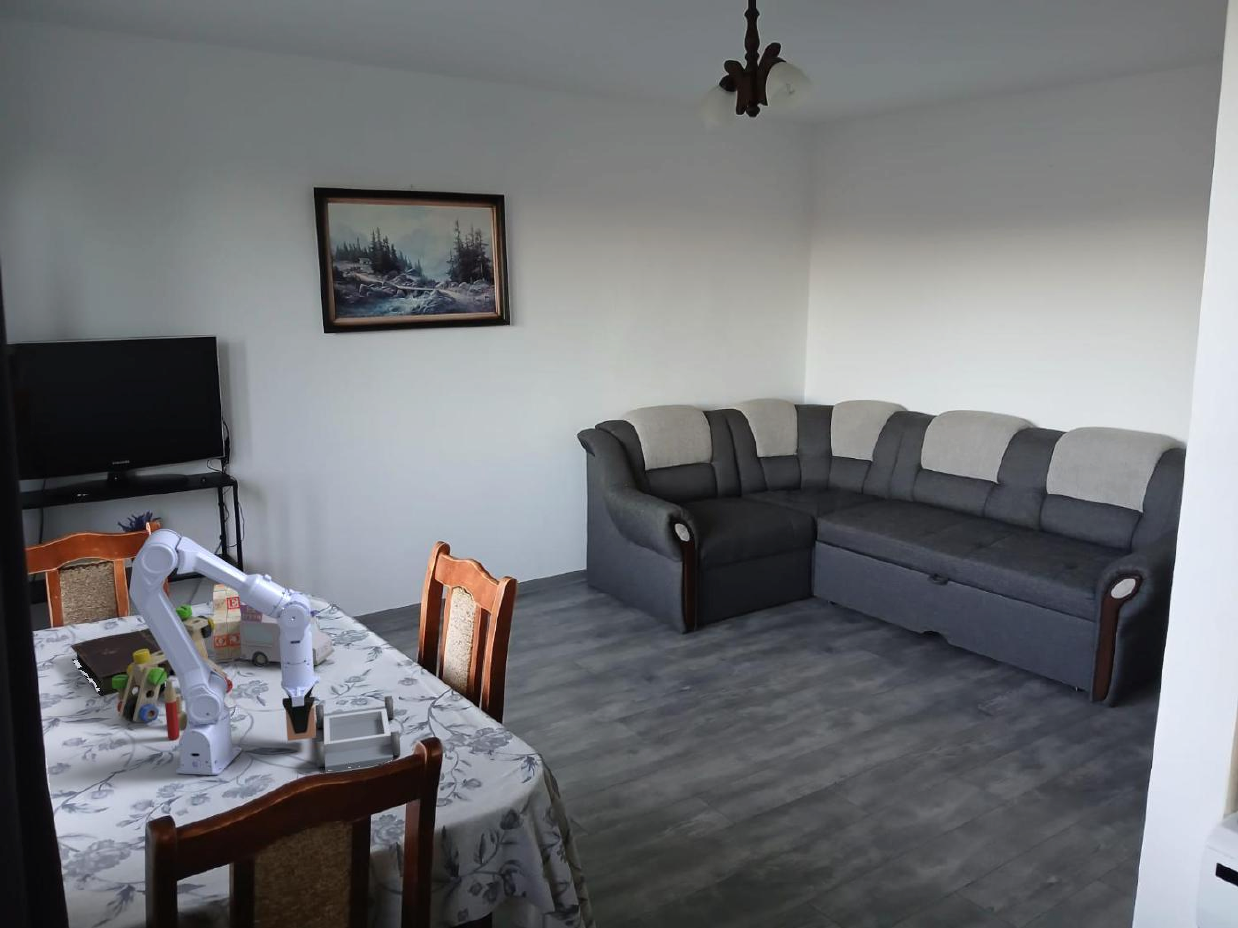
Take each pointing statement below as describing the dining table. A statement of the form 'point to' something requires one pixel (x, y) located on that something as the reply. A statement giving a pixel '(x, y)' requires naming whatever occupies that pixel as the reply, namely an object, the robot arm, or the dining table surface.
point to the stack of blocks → (226, 622)
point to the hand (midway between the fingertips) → (300, 725)
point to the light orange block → (310, 730)
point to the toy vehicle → (274, 638)
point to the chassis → (356, 737)
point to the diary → (114, 657)
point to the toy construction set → (161, 679)
